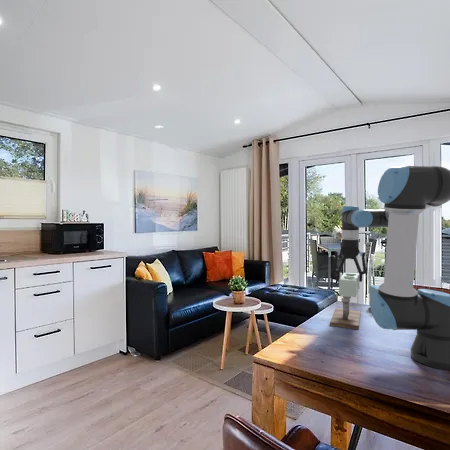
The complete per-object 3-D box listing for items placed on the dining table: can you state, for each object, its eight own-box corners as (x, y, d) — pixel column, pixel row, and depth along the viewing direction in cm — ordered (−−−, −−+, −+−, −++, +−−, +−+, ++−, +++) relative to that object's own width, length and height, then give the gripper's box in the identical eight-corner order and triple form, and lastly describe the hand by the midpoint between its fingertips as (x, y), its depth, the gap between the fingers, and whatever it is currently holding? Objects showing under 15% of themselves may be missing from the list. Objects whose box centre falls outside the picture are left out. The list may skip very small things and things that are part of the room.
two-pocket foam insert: (355, 297, 140) (355, 281, 140) (339, 295, 143) (339, 279, 143) (359, 287, 159) (359, 273, 159) (344, 286, 162) (344, 272, 162)
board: (358, 329, 139) (359, 304, 139) (329, 325, 144) (329, 301, 144) (360, 314, 162) (360, 292, 162) (335, 311, 167) (335, 290, 167)
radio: (401, 315, 159) (401, 275, 159) (382, 315, 159) (382, 275, 159) (385, 307, 175) (385, 270, 175) (368, 307, 175) (369, 270, 175)
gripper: (373, 239, 150) (373, 288, 150) (329, 237, 158) (328, 284, 159) (373, 240, 143) (372, 291, 144) (326, 238, 152) (326, 287, 152)
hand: (349, 287), depth 151 cm, fingers closed on two-pocket foam insert, 7 cm apart
